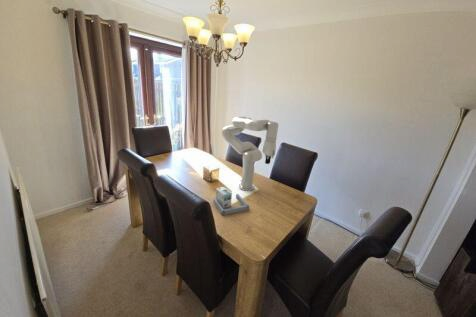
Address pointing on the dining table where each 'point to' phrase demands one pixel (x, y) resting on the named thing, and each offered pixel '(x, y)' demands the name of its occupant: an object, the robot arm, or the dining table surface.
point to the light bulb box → (223, 197)
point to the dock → (232, 210)
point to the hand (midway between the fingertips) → (267, 163)
